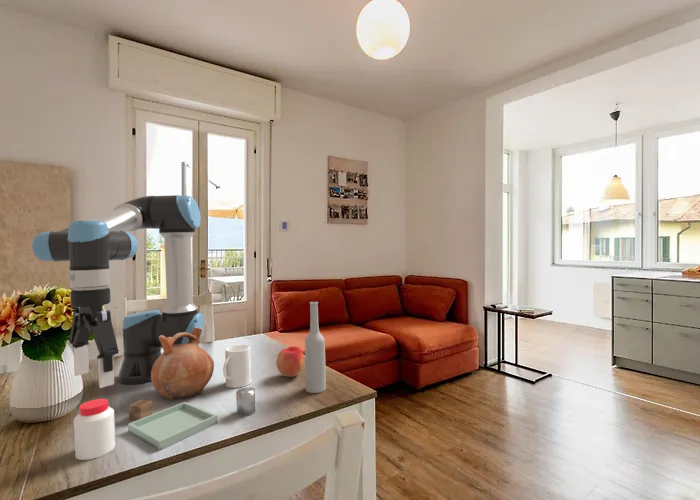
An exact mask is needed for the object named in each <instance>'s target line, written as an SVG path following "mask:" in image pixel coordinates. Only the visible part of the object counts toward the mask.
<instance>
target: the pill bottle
mask: <svg viewBox="0 0 700 500" xmlns="http://www.w3.org/2000/svg"><path fill="white" fill-rule="evenodd" d="M115 419H116V417H115V409H114V408H113V407H111V406H110V405H109V400H108V399H106V398H97V399H91V400H89V401H86V402H84V403H82V404H80V406H79V413H78V414H77V415H76V416H75V417H74V418H73V432H74V433H73V435H74V437H73V438H74V457H75V459H76V460H78V461H88V460H89V461H90V460H93V459H94V458H95V459H97V458H100V457H103V456H105V455H108V454H109V453H111V451H113V450H114V449H115V448H116V424H115V421H116V420H115Z"/></svg>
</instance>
